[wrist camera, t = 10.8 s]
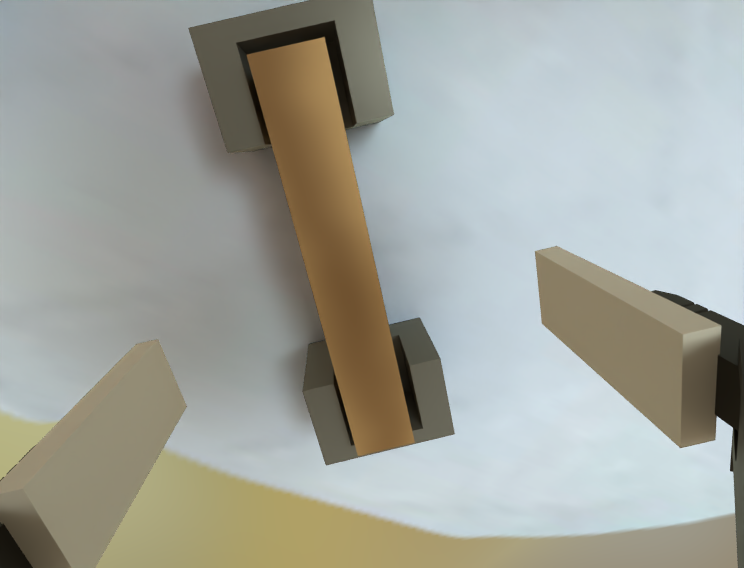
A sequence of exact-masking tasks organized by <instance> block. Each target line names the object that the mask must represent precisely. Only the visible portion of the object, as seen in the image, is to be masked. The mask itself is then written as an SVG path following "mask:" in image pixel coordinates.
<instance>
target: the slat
mask: <svg viewBox="0 0 744 568" xmlns="http://www.w3.org/2000/svg"><path fill="white" fill-rule="evenodd" d="M247 58H248V62H249V65H250V69H251V73H252V76H253V80H254V83H255V87H256V91H257V94H258V98H259V101H260V105H261V109H262V112H263V116H264V119H265V123H266V127H267V130H268V134H269V137H270V141H271V145H272V148H273V152H274V155H275V159H276V163H277V166H278V170H279V173H280V177H281V181H282V184H283V188H284V191H285V195H286V199H287V202H288V206H289V209H290V213H291V217H292V220H293V224H294V227H295V231H296V235H297V238H298V242H299V245H300V249H301V253H302V256H303V260H304V263H305V267H306V271H307V274H308V278H309V281H310V285H311V289H312V292H313V296H314V300H315V303H316V307H317V310H318V314H319V318H320V321H321V325H322V328H323V332H324V336H325V339H326V343H327V346H328V350H329V354H330V357H331V361H332V364H333V368H334V372H335V375H336V379H337V382H338V386H339V390H340V393H341V397H342V400H343V404H344V408H345V411H346V415H347V418H348V422H349V426H350V429H351V433H352V436H353V440H354V444H355V447H356V451H357V454H358V456H362V455H366V454H370V453H374V452H378V451H383V450H387V449H391V448H395V447H399V446H403V445H408V444H412V443H415V441H414V436H413V432H412V427H411V423H410V418H409V414H408V409H407V405H406V400H405V396H404V392H403V387H402V383H401V378H400V374H399V369H398V365H397V360H396V356H395V351H394V347H393V342H392V338H391V333H390V329H389V324H388V320H387V315H386V311H385V306H384V302H383V297H382V293H381V288H380V284H379V279H378V275H377V270H376V266H375V261H374V257H373V252H372V248H371V243H370V239H369V234H368V230H367V226H366V221H365V217H364V212H363V208H362V203H361V199H360V194H359V190H358V185H357V181H356V176H355V172H354V167H353V163H352V158H351V154H350V149H349V145H348V140H347V136H346V131H345V127H344V122H343V118H342V113H341V109H340V104H339V100H338V95H337V91H336V86H335V82H334V77H333V73H332V68H331V64H330V59H329V55H328V51H327V46H326V42H325V37H323V38H318V39H314V40H309V41H305V42H300V43H296V44H291V45H287V46H283V47H278V48H274V49H269V50H265V51H260V52H256V53H251V54H247Z"/></svg>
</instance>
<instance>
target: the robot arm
mask: <svg viewBox="0 0 744 568" xmlns="http://www.w3.org/2000/svg"><path fill="white" fill-rule="evenodd" d="M535 257H536V267H537V277H538V288H539V298H540V308H541V318H542V324H543V325H544V326H545V327H546V328H547V329H549V330H550V331H551V332H552V333H553V334H554V335H555V336H556V337H557V338H559V339H560V340H561V341H562V342H563V343H564V344H565V345H566V346H567V347H569V348H570V349H571V350H572V351H573V352H574V353H575V354H576V355H577V356H579V357H580V358H581V359H582V360H583V361H584V362H585V363H586V364H587V365H589V366H590V367H591V368H592V369H593V370H594V371H595V372H596V373H597V374H599V375H600V376H601V377H602V378H603V379H604V380H605V381H606V382H608V383H609V384H610V385H611V386H612V387H613V388H614V389H615V390H616V391H618V392H619V393H620V394H621V395H622V396H623V397H624V398H625V399H626V400H628V401H629V402H630V403H631V404H632V405H633V406H634V407H635V408H636V409H638V410H639V411H640V412H641V413H642V414H643V415H644V416H645V417H646V418H648V419H649V420H650V421H651V422H652V423H653V424H654V425H655V426H656V427H658V428H659V429H660V430H661V431H662V432H663V433H664V434H665V435H666V436H668V437H669V438H670V439H671V440H672V441H673V442H674V443H675V444H676V445H678V446H679V447H680V448H683V447H687V446H692V445H696V444H700V443H705V442H709V441H713V440H715V436H716V417H717V416H718V417H719V418H721V419H722V420H723V421H725V422H726V423H727V424H729V425H730V426H732V427H733V436H732V450H731V464H730V471H732V472H733V473H734V494H735V515H736V535H737V536H736V537H737V558H738V568H744V325H742V324H740V323H737V322H735V321H733V320H731V319H729V318H727V317H724V316H722V315H720V314H718V313H716V312H713V311H708V309H707V308H705V307H702V306H700V305H698V304H695V305H694V302H691V301H689V300H687V299H685V298H683V297H680V296H678V295H675V294H670V293H666V292H661V291H657V290H655V291H649V290H647V289H645V288H643V287H641V286H639V285H636V284H634V283H632V282H630V281H628V280H626V279H624V278H622V277H620V276H618V275H616V274H614V273H612V272H610V271H608V270H605V269H603V268H601V267H599V266H597V265H595V264H593V263H591V262H589V261H587V260H585V259H583V258H581V257H579V256H577V255H574V254H572V253H570V252H568V251H566V250H564V249H562V248H560V247H558V246H555V247H551V248H546V249H542V250H538V251H535ZM186 407H187V406H186V403H185V401H184V399H183V396H182V394H181V392H180V389H179V387H178V385H177V382H176V380H175V378H174V375H173V373H172V371H171V368H170V366H169V363H168V361H167V359H166V356H165V354H164V352H163V349H162V347H161V345H160V342H159V340H158V339H156V340H152V341H147V342H143V343H139V344H136V345H135V346H134V347H133V348H132V349H131V350H130V351H129V352H128V353H127V354H126V355H125V356H124V357H123V358H122V359H121V360H120V361H119V362H118V363H117V364H116V365H115V366H114V367H113V368H112V369H111V370H110V371H109V372H108V373H107V374H106V375H105V376H104V377H103V378H102V379H101V380H100V381H99V382H98V383H97V384H96V385H95V386H94V387H93V388H92V389H91V390H90V391H89V392H88V393H87V394H86V395H85V396H84V397H83V398H82V399H81V400H80V401H79V402H78V403H77V404H76V405H75V406H74V407H73V408H72V409H71V410H70V411H69V412H68V413H67V414H66V415H65V416H64V417H63V418H62V419H61V420H60V421H59V422H58V423H57V424H56V425H55V426H54V427H53V429H52V430H51V431H50V432H49V433H48V434H47V435H46V436H45V437H44V438H43V439H42V440H41V441H40V442H39V443H38V444H37V445H35V446H34V447H33V448H32V449H31V450H30V451H29V452H28V453H27V454H26V455H25V456H24V457H23V458H22V459H21V460H20V461H19V463H18V464H16V465H15V466H14V467H13V468H12V469H11V470H10V471H9V472H8V473H7V475H6V476H5V477H3V478H2V479H1V480H0V568H95V567H96V565H97V564H98V562H99V560H100V558H101V557H102V555H103V553H104V551H105V550H106V548H107V546H108V544H109V543H110V541H111V539H112V537H113V536H114V534H115V532H116V530H117V528H118V527H119V525H120V523H121V521H122V519H123V518H124V516H125V514H126V513H127V511H128V509H129V507H130V506H131V504H132V502H133V500H134V499H135V497H136V495H137V493H138V492H139V490H140V488H141V486H142V485H143V483H144V481H145V479H146V477H147V476H148V474H149V472H150V470H151V469H152V467H153V465H154V463H155V462H156V460H157V458H158V456H159V455H160V453H161V451H162V449H163V448H164V446H165V444H166V442H167V440H168V439H169V437H170V435H171V433H172V432H173V430H174V428H175V426H176V425H177V423H178V421H179V419H180V418H181V416H182V414H183V412H184V411H185V409H186Z"/></svg>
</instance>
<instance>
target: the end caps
mask: <svg viewBox="0 0 744 568" xmlns="http://www.w3.org/2000/svg"><path fill="white" fill-rule="evenodd" d="M189 32H190V35H191V38H192V41H193V44H194V47H195V51H196V54H197V57H198V60H199V63H200V67H201V70H202V73H203V76H204V79H205V82H206V86H207V89H208V92H209V95H210V98H211V102H212V105H213V108H214V111H215V114H216V117H217V121H218V124H219V127H220V130H221V133H222V137H223V140H224V143H225V146H226V149H227V152H228V153H238V152H252V151H256V150H260V149H265V148H269V147H272V145H271V141H270V137H269V134H268V130H267V127H266V123H265V119H264V116H263V112H262V109H261V105H260V101H259V98H258V94H257V91H256V87H255V83H254V80H253V76H252V73H251V69H250V65H249V62H248V58H247V54H251V53H256V52H260V51H265V50H269V49H274V48H278V47H283V46H287V45H291V44H296V43H300V42H305V41H309V40H314V39H318V38H323V37H325V42H326V46H327V51H328V55H329V59H330V64H331V68H332V73H333V77H334V82H335V86H336V91H337V95H338V100H339V104H340V109H341V113H342V118H343V122H344V127H345V130H346V129H351V128H355V127H359V126H364V125H368V124H372V123H376V122H381V121H383V120H384V119H386V118H388V117H390V116H392V115H394V112H393V107H392V102H391V96H390V91H389V86H388V80H387V75H386V70H385V65H384V59H383V54H382V49H381V44H380V38H379V33H378V28H377V23H376V17H375V12H374V7H373V1H372V0H309V1H304V2H300V3H296V4H291V5H287V6H282V7H278V8H274V9H269V10H265V11H260V12H256V13H252V14H247V15H243V16H239V17H234V18H230V19H225V20H221V21H217V22H212V23H208V24H204V25H199V26H195V27H190V28H189ZM389 329H390V333H391V338H392V342H393V347H394V351H395V356H396V360H397V365H398V369H399V374H400V378H401V383H402V387H403V392H404V396H405V400H406V405H407V409H408V414H409V418H410V423H411V427H412V432H413V436H414V441H415V443H412V444H416V443H420V442H424V441H428V440H433V439H437V438H441V437H445V436H449V435H453V434H455V433H454V428H453V423H452V417H451V412H450V407H449V402H448V396H447V391H446V386H445V381H444V375H443V370H442V365H441V360H440V357H439V355H438V353H437V351H436V349H435V347H434V345H433V343H432V341H431V339H430V337H429V335H428V333H427V331H426V329H425V327H424V325H423V323H422V321H421V319H420V318H416V319H412V320H408V321H403V322H399V323H395V324H391V325H389ZM303 394H304V397H305V401H306V404H307V407H308V410H309V413H310V417H311V420H312V423H313V426H314V429H315V432H316V436H317V439H318V442H319V445H320V448H321V452H322V455H323V458H324V461H325V464H326V465H329V464H334V463H338V462H342V461H346V460H350V459H354V458H358V457H362V456H367V455H371V454H375V453H379V452H383V451H387V450H391V449H395V448H400V447H404V446H408V445H412V444H408V445H403V446H399V447H395V448H391V449H387V450H383V451H378V452H374V453H370V454H366V455H362V456H358V454H357V451H356V447H355V444H354V440H353V436H352V433H351V429H350V426H349V422H348V418H347V415H346V411H345V408H344V404H343V400H342V397H341V393H340V390H339V386H338V382H337V379H336V375H335V372H334V368H333V364H332V361H331V357H330V354H329V350H328V346H327V343H326V340H324V341H319V342H315V343H311V344H309V345H308V353H307V361H306V368H305V376H304V384H303Z"/></svg>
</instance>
